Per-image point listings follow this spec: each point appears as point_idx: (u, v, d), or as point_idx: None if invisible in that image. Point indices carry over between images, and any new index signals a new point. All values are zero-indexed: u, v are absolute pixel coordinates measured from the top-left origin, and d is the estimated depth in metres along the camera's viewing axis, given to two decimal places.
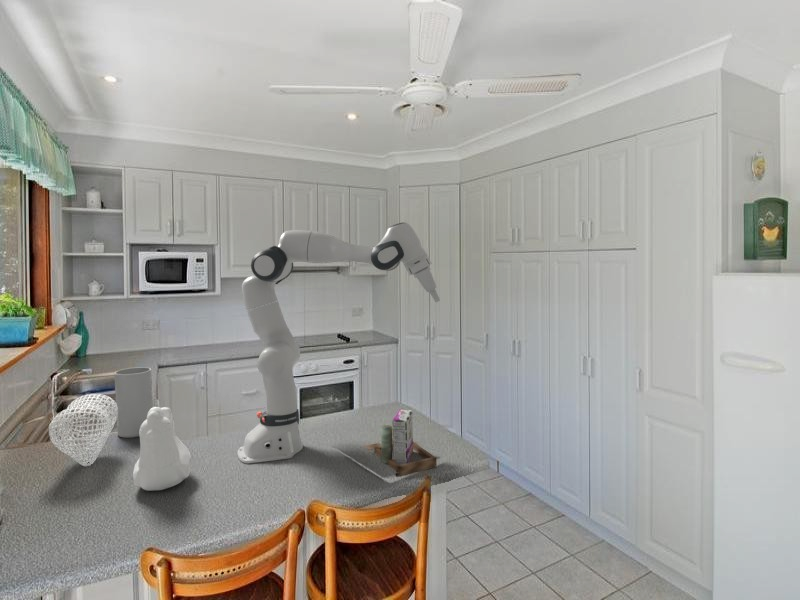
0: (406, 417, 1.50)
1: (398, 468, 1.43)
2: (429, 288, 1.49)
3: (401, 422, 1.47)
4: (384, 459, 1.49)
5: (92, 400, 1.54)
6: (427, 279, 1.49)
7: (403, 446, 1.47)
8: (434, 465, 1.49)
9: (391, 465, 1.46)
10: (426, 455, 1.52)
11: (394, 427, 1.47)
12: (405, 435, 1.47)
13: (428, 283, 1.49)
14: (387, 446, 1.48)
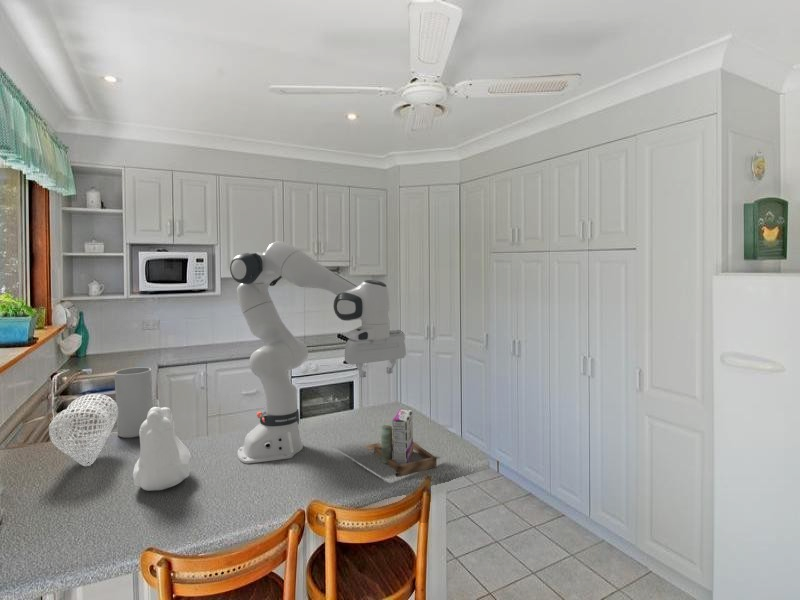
0: (406, 417, 1.50)
1: (398, 468, 1.43)
2: (346, 361, 1.40)
3: (401, 422, 1.47)
4: (384, 459, 1.49)
5: (92, 400, 1.54)
6: (347, 352, 1.39)
7: (403, 446, 1.47)
8: (434, 465, 1.49)
9: (391, 465, 1.46)
10: (426, 455, 1.52)
11: (394, 427, 1.47)
12: (405, 435, 1.47)
13: (346, 356, 1.39)
14: (387, 446, 1.48)
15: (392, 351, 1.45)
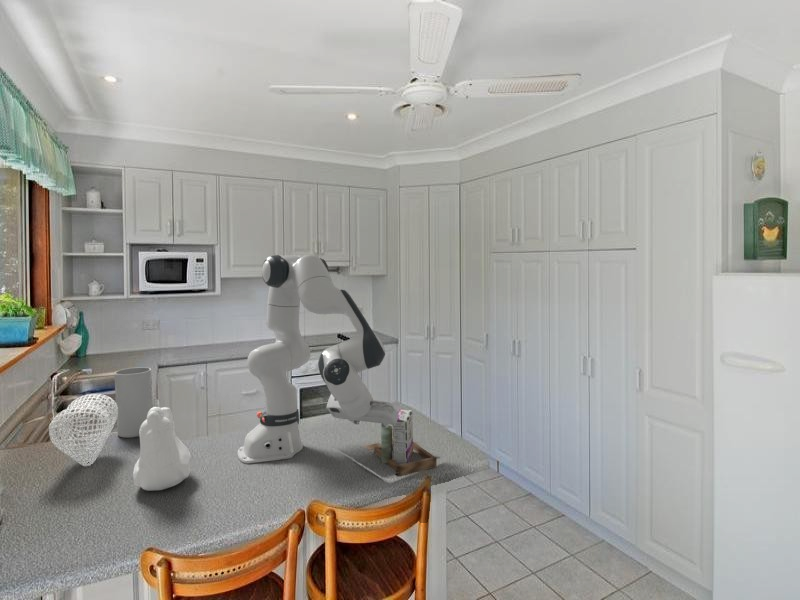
0: (406, 417, 1.50)
1: (398, 468, 1.43)
2: None
3: (401, 422, 1.47)
4: (384, 459, 1.49)
5: (92, 400, 1.54)
6: None
7: (403, 446, 1.47)
8: (434, 465, 1.49)
9: (391, 465, 1.46)
10: (426, 455, 1.52)
11: (394, 427, 1.47)
12: (405, 435, 1.47)
13: None
14: (387, 446, 1.48)
15: (377, 419, 1.30)
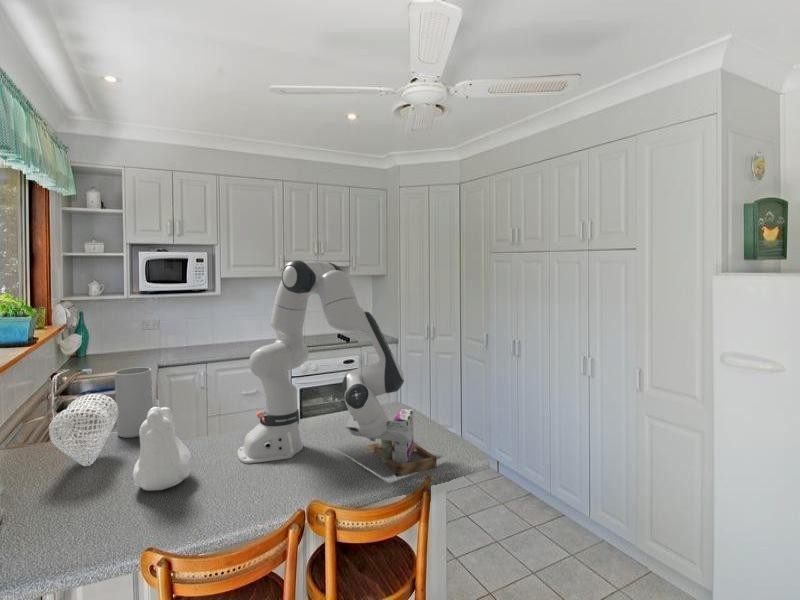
0: (407, 416, 1.50)
1: (398, 468, 1.43)
2: None
3: (402, 422, 1.47)
4: (384, 459, 1.49)
5: (92, 400, 1.54)
6: None
7: (404, 446, 1.48)
8: (434, 465, 1.49)
9: (391, 465, 1.46)
10: (426, 455, 1.52)
11: None
12: None
13: None
14: (387, 446, 1.48)
15: (392, 437, 1.41)
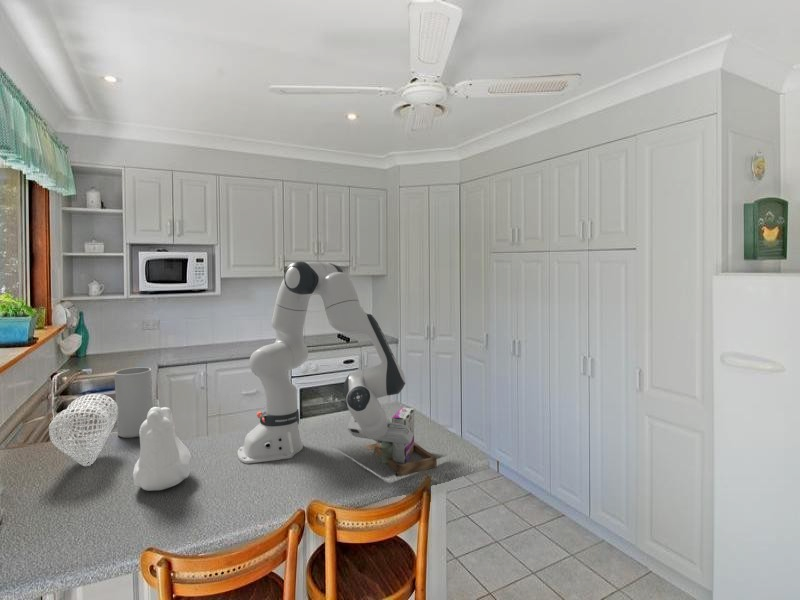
0: (406, 415, 1.51)
1: (398, 468, 1.43)
2: None
3: (400, 420, 1.49)
4: (384, 459, 1.49)
5: (92, 400, 1.54)
6: None
7: (402, 444, 1.49)
8: (434, 465, 1.49)
9: (391, 465, 1.46)
10: (426, 455, 1.52)
11: None
12: None
13: None
14: (387, 446, 1.48)
15: (393, 439, 1.42)
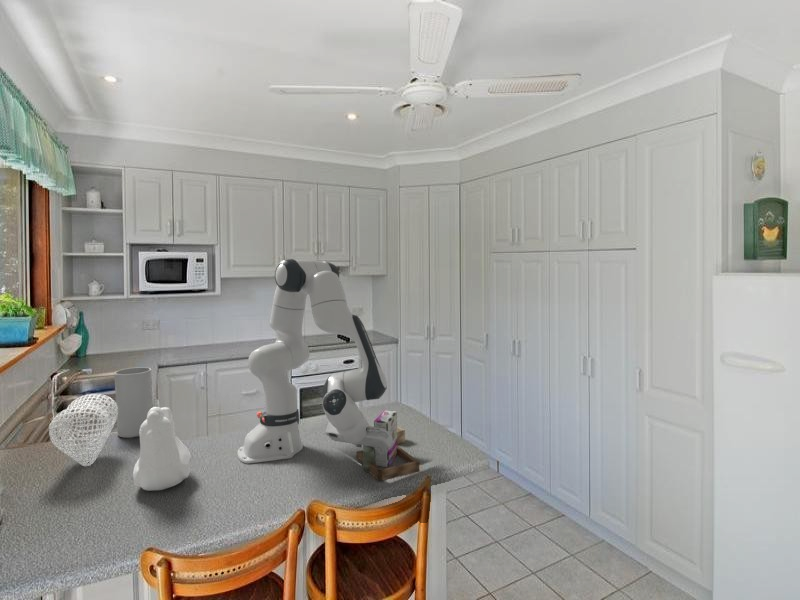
0: (388, 418, 1.48)
1: (379, 473, 1.39)
2: None
3: (382, 423, 1.46)
4: (366, 463, 1.46)
5: (92, 400, 1.54)
6: None
7: (384, 448, 1.46)
8: (417, 469, 1.46)
9: (373, 469, 1.43)
10: (409, 459, 1.49)
11: None
12: None
13: None
14: (369, 450, 1.45)
15: (372, 443, 1.39)
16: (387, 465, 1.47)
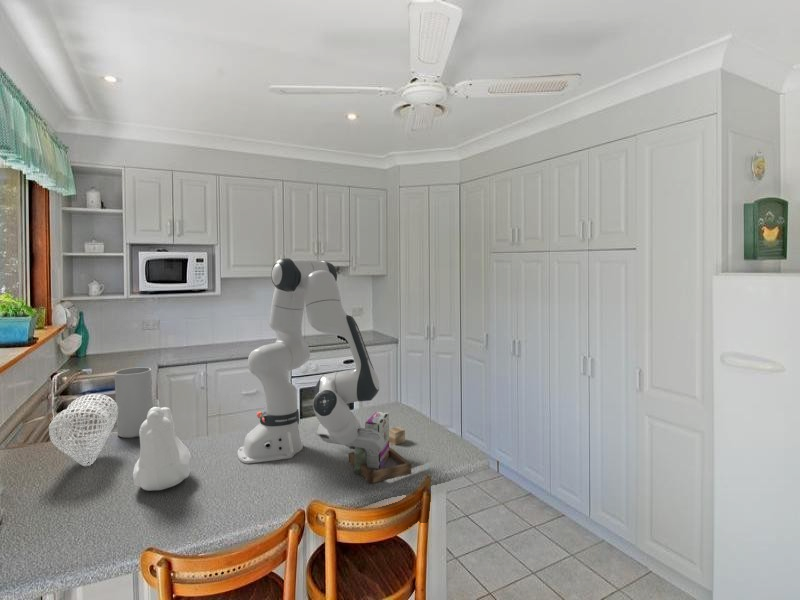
0: (380, 420, 1.47)
1: (370, 475, 1.38)
2: None
3: (374, 425, 1.44)
4: (357, 465, 1.44)
5: (92, 400, 1.54)
6: None
7: None
8: (409, 471, 1.44)
9: (364, 471, 1.42)
10: (401, 461, 1.48)
11: None
12: None
13: None
14: (360, 452, 1.44)
15: (364, 445, 1.37)
16: (378, 467, 1.45)
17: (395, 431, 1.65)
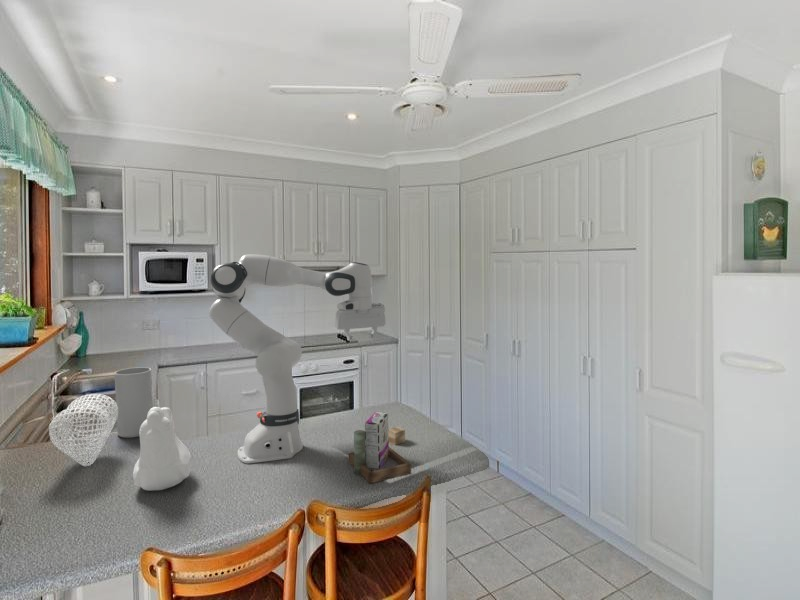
0: (379, 420, 1.47)
1: (370, 475, 1.38)
2: (336, 326, 1.74)
3: (374, 425, 1.44)
4: (357, 465, 1.44)
5: (92, 400, 1.54)
6: (337, 319, 1.73)
7: (376, 449, 1.45)
8: (408, 471, 1.44)
9: (364, 472, 1.42)
10: (401, 461, 1.48)
11: (367, 430, 1.45)
12: (377, 438, 1.44)
13: (336, 322, 1.73)
14: (360, 452, 1.44)
15: (374, 320, 1.79)
16: (378, 467, 1.45)
17: (395, 431, 1.65)
